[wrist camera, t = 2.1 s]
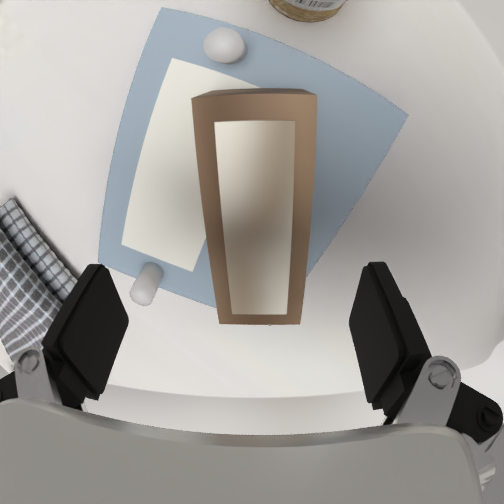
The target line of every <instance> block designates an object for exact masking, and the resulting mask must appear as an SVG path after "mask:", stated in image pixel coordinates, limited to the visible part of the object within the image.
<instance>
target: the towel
mask: <svg viewBox="0 0 504 504" xmlns="http://www.w3.org/2000/svg"><path fill="white" fill-rule="evenodd" d="M76 282H77V279H76V278H75V277H74V276H72V275H71V273H70V271H69V270H68V269H67V268H65V267H64V265H63V263H62V262H61V261H60V260H58V258H57V257H56V255H55V253H54V252H53V251H51V249H50V248H49V246H48V245H47V244H46V243H45V242H44V241H43V239H42V238H41V237H40V235H39V234H38V233H37V232H36V230H35V229H34V227H33V226H32V225H31V224H30V222H29V220H28V219H27V217H26V216H25V215H24V213H23V211H22V210H21V209H20V208H19V207H18V205H17V203H16V202H15V200H14V199H12V198H11V199H9V200H8V201H7V203H5V204H4V205H3V206H1V207H0V338H1V340H2V343H3V345H4V347H5V349H6V352H7V353H8V355H9V356H10V358H11V360H12V362H14V364H15V361H16V358H17V357H18V355H19V354H20V353H21V352H22V351H23V350H24V349H26V348H28V347H31V346H36V347H38V348H40V349H41V350H42V349H43V345H42V344H41V342H42V340H43V338H44V336H45V334H46V333H47V331H48V329H49V327H50V325H51V324H52V322H53V320H54V318H55V317H56V315H57V313H58V312H59V310H60V308H61V307H62V305H63V303H64V302H65V300H66V298H67V297H68V295H69V293H70V292H71V290H72V289H73V287H74V286H75V284H76Z"/></svg>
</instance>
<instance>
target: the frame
mask: <svg viewBox="0 0 504 504" xmlns="http://www.w3.org/2000/svg"><path fill="white" fill-rule="evenodd" d="M191 102H192V114H193V125H194V136H195V146H196V156H197V166H198V175H199V184H200V192H201V201H202V209H203V217H204V225H205V232H206V239H207V247H208V254H209V261H210V268H211V274H212V281H213V287H214V294H215V300H216V306H217V312H218V318H219V324H248V325H287V324H300V321H301V313H302V305H303V297H304V288H305V279H306V270H307V261H308V250H309V240H310V228H311V216H312V203H313V189H314V172H315V153H316V129H317V95H316V94H313V93H311V92H308V91H306V90H304V89H294V88H249V89H227V90H213V91H209V92H207V93H204V94H201V95H198V96H196V97H193V98H191Z"/></svg>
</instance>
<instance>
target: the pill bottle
mask: <svg viewBox="0 0 504 504" xmlns="http://www.w3.org/2000/svg"><path fill="white" fill-rule="evenodd" d="M269 1H270V3H271V4H272V5H273V6H274V8H275V9H276V10H278V11H279V12H280V13H282V14H284V15H285V16H287V17H289V18H293V19H294V20H298V21H305V22H315V21H322V20H325V19H327V18H330V17H331V16H333V15H335V14H336V13H337V12H338V10H339V9H340V8H341V7H342V5H343V4H344V3H345V2H346V1H347V0H269Z"/></svg>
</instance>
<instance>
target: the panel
mask: <svg viewBox="0 0 504 504" xmlns="http://www.w3.org/2000/svg"><path fill="white" fill-rule="evenodd" d="M249 88H294V89H304V90H306V91H308V92H311V93H313V94H316V95H317V129H316V153H315V172H314V189H313V203H312V216H311V228H310V240H309V250H308V261H307V270H306V277H307V275H308V274H309V272H310V271H311V270H312V268H313V267H314V265H315V264H316V262H317V261H318V260H319V258H320V257H321V255H322V254H323V252H324V251H325V249H326V248H327V246H328V245H329V243H330V242H331V240H332V239H333V237H334V236H335V234H336V233H337V231H338V230H339V228H340V227H341V225H342V224H343V222H344V221H345V219H346V218H347V216H348V215H349V213H350V212H351V210H352V209H353V207H354V205H355V204H356V202H357V201H358V199H359V198H360V196H361V194H362V193H363V191H364V190H365V188H366V186H367V185H368V183H369V182H370V180H371V178H372V177H373V175H374V173H375V172H376V170H377V169H378V167H379V165H380V164H381V162H382V160H383V159H384V157H385V155H386V153H387V152H388V150H389V148H390V147H391V145H392V143H393V142H394V140H395V138H396V136H397V135H398V133H399V131H400V129H401V128H402V126H403V124H404V122H405V120H406V119H407V117H408V114H407V113H405V112H404V111H403V110H401V109H400V108H398V107H397V106H395V105H394V104H393V103H391V102H390V101H388V100H387V99H385V98H384V97H382V96H381V95H379V94H378V93H376V92H374V91H373V90H371V89H370V88H368V87H366V86H365V85H363V84H362V83H360V82H358V81H356V80H355V79H353V78H351V77H350V76H348V75H346V74H344V73H343V72H341V71H339V70H337V69H335V68H333V67H331V66H330V65H328V64H326V63H324V62H322V61H320V60H318V59H316V58H314V57H312V56H310V55H307V54H305V53H303V52H301V51H299V50H297V49H294V48H292V47H290V46H288V45H285V44H283V43H281V42H278V41H276V40H273V39H271V38H268V37H266V36H263V35H260V34H258V33H255V32H252V31H249V30H246V29H243V28H240V27H237V26H234V25H231V24H228V23H225V22H221V21H218V20H214V19H211V18H207V17H203V16H199V15H195V14H191V13H187V12H182V11H178V10H173V9H168V8H162V7H161V9H160V11H159V14H158V16H157V18H156V20H155V23H154V25H153V27H152V30H151V32H150V35H149V37H148V39H147V42H146V44H145V47H144V50H143V52H142V55H141V58H140V60H139V63H138V66H137V69H136V72H135V75H134V78H133V81H132V84H131V87H130V90H129V94H128V97H127V100H126V104H125V107H124V111H123V115H122V118H121V122H120V126H119V130H118V134H117V138H116V143H115V147H114V152H113V156H112V161H111V166H110V171H109V177H108V182H107V188H106V194H105V201H104V208H103V215H102V223H101V232H100V242H99V253H98V263H100V264H103V265H105V266H107V267H110V268H112V269H114V270H117V271H119V272H122V273H124V274H127V275H129V276H132V277H134V278H137V279H136V281H135V282H134V284H133V286H132V288H131V290H130V297H131V299H132V300H133V301H134V302H135V303H137V304H139V305H142V306H147V305H150V304H151V303H152V301H153V298H154V296H155V294H156V291H157V289H158V287H159V288H162V289H165V290H167V291H170V292H173V293H175V294H178V295H181V296H184V297H186V298H189V299H192V300H195V301H197V302H200V303H203V304H206V305H209V306H212V307H214V308H217V306H216V300H215V294H214V287H213V281H212V274H211V268H210V261H209V254H208V247H207V239H206V232H205V225H204V217H203V209H202V201H201V192H200V184H199V175H198V166H197V156H196V146H195V136H194V125H193V114H192V102H191V98H193V97H196V96H198V95H201V94H204V93H207V92H209V91H213V90H227V89H249ZM269 326H271V325H269Z"/></svg>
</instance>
